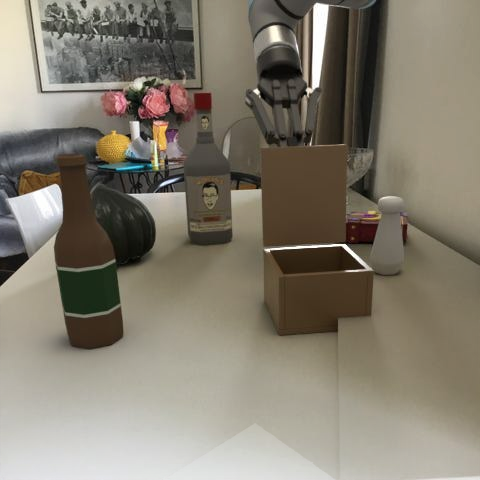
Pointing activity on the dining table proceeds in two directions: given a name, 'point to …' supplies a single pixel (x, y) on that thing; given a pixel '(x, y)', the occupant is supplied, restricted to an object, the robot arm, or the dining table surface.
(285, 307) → the open cardboard box
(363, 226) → the decorative book
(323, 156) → the cardboard lid
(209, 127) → the liquor
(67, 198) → the beer bottle
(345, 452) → the dining table surface
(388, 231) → the salt shaker
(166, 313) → the dining table surface
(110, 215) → the squash
